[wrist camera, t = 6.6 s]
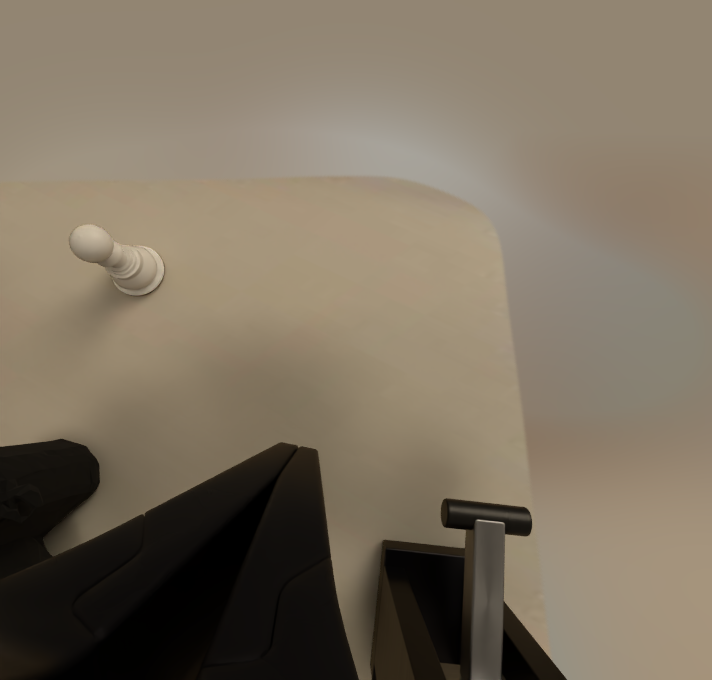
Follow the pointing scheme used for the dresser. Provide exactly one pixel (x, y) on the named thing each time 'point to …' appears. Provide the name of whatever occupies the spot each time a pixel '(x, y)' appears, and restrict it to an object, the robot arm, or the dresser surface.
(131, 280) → the chess pawn
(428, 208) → the dresser surface
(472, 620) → the lever
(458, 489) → the dresser surface
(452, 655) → the bracket
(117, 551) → the robot arm
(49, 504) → the film camera
